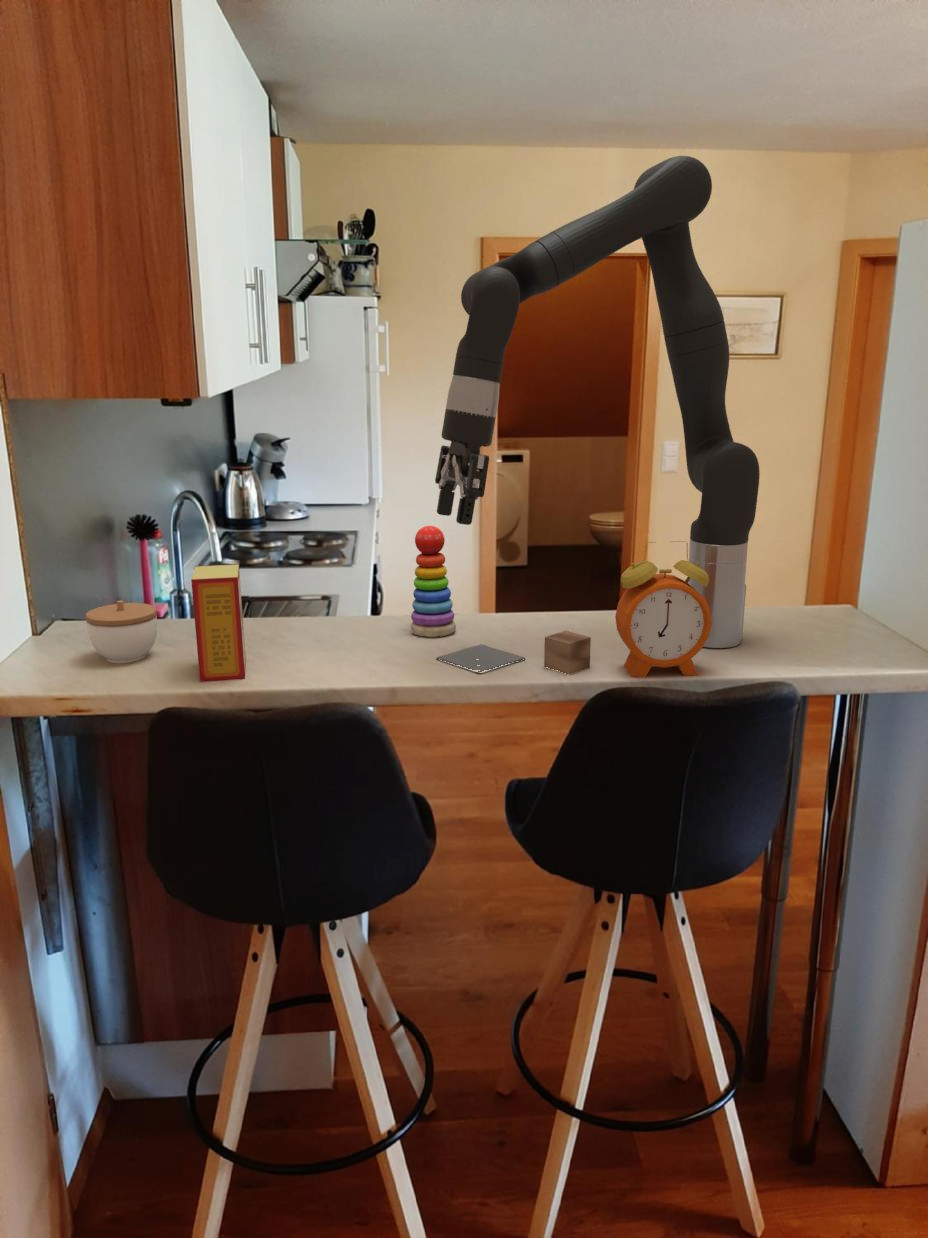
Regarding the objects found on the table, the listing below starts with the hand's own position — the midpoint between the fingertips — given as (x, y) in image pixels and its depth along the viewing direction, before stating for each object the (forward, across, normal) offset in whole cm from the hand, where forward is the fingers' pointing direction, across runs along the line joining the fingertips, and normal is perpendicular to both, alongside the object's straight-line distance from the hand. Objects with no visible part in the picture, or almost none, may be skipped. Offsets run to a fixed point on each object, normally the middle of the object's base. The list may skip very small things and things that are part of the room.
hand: (453, 519), depth 141 cm
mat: (+22, 0, -8) cm, 23 cm away
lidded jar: (+32, +23, +43) cm, 58 cm away
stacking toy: (+22, +17, -7) cm, 29 cm away
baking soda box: (+29, +10, +30) cm, 43 cm away
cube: (+20, -9, -19) cm, 29 cm away
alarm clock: (+18, -16, -32) cm, 39 cm away
